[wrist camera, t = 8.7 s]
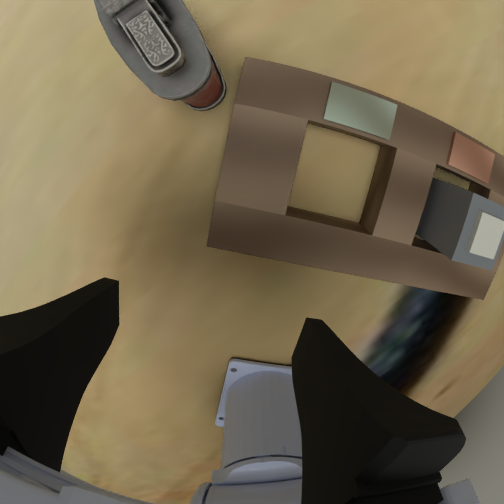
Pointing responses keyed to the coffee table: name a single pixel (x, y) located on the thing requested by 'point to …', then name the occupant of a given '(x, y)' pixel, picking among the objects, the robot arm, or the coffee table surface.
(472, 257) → the plug
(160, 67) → the lighter
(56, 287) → the coffee table surface
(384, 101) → the socket board
